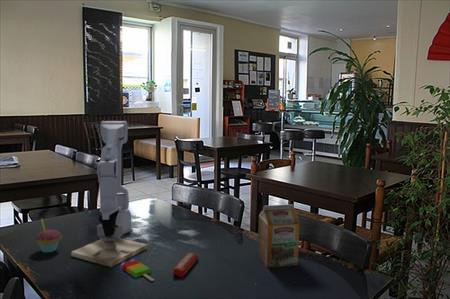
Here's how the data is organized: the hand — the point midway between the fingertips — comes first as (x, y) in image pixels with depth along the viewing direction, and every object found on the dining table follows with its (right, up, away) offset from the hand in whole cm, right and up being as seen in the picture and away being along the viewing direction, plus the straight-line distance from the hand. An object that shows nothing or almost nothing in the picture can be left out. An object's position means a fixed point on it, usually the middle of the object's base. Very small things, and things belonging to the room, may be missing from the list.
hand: (109, 233), depth 144 cm
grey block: (0, -2, 0) cm, 2 cm away
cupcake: (-22, -6, +3) cm, 23 cm away
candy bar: (+27, -9, -10) cm, 31 cm away
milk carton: (+57, -8, -4) cm, 58 cm away
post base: (0, -7, +1) cm, 7 cm away
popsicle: (+14, -10, -15) cm, 23 cm away
